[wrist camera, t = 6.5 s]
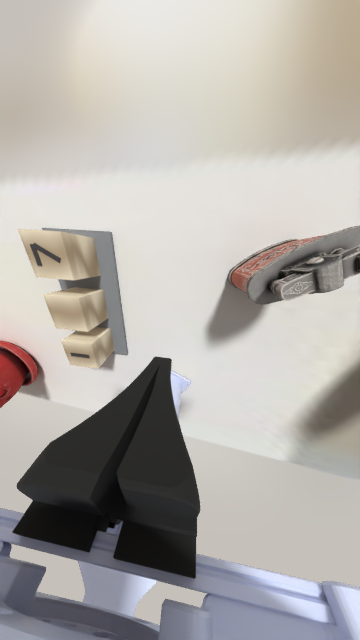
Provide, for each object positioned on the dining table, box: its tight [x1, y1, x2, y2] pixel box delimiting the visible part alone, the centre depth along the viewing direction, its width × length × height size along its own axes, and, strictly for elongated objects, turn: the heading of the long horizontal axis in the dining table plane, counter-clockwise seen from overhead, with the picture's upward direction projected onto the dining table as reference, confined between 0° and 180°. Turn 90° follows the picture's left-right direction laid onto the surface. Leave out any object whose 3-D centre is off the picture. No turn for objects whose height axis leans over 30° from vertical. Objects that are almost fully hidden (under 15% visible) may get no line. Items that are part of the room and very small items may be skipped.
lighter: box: [228, 226, 360, 304], centre depth 12 cm, size 8×3×10 cm, turn 118°
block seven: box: [18, 229, 101, 280], centre depth 16 cm, size 4×4×5 cm
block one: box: [61, 327, 114, 369], centre depth 21 cm, size 4×4×5 cm
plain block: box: [43, 287, 109, 332], centre depth 18 cm, size 4×4×4 cm
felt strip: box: [42, 228, 128, 355], centre depth 21 cm, size 19×9×1 cm, turn 176°
